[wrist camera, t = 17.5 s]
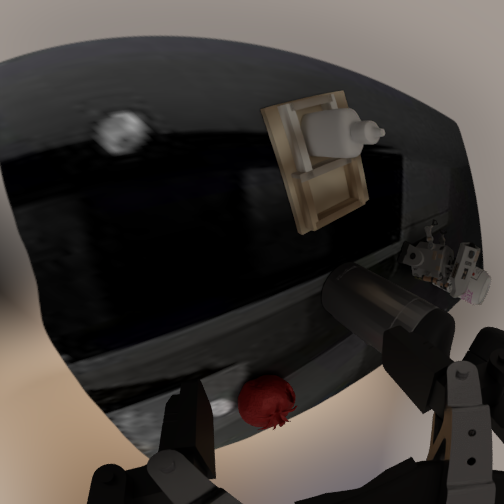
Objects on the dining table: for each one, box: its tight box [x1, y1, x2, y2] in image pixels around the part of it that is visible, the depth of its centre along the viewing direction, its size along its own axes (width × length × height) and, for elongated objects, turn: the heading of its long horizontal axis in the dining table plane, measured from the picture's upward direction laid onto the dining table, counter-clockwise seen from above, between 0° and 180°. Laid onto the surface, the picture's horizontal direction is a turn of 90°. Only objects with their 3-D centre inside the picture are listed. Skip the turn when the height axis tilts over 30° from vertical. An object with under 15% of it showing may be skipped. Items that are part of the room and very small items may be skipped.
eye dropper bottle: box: [301, 108, 385, 158], centre depth 28 cm, size 4×6×12 cm
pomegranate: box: [238, 375, 297, 430], centre depth 41 cm, size 10×10×9 cm
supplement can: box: [433, 258, 491, 305], centre depth 52 cm, size 8×8×15 cm
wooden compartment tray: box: [260, 91, 369, 235], centre depth 34 cm, size 17×13×3 cm
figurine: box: [398, 220, 480, 298], centre depth 44 cm, size 9×12×15 cm
